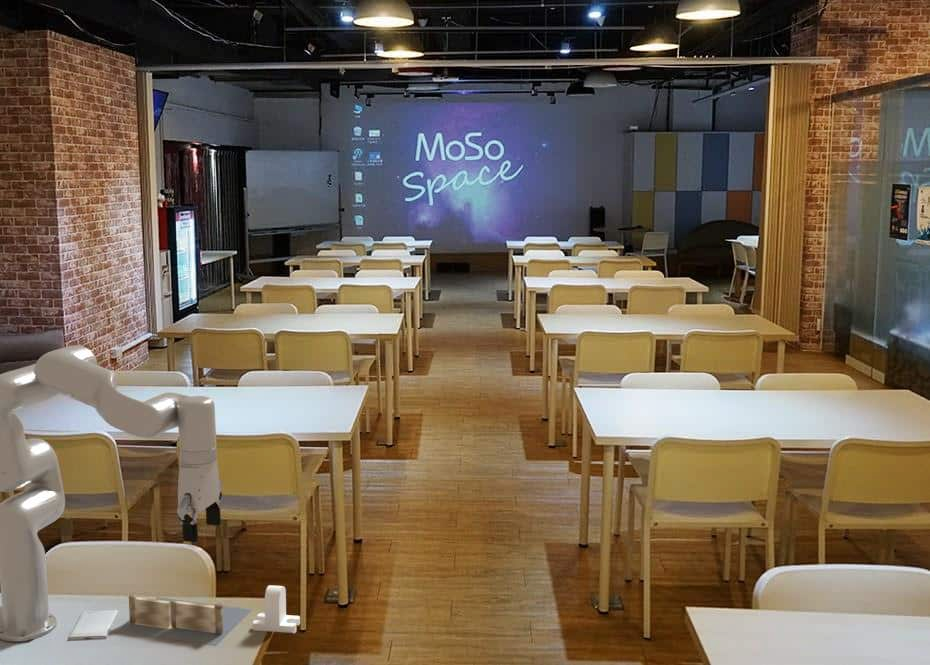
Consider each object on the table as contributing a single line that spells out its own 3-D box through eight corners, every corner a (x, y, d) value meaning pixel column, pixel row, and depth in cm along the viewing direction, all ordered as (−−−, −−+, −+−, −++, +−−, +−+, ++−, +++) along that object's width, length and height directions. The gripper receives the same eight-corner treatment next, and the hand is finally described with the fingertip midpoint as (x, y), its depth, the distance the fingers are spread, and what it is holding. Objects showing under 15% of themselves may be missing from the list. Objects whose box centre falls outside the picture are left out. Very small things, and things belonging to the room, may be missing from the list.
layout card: (115, 632, 219) (115, 630, 219) (157, 598, 236) (157, 597, 236) (216, 646, 213) (216, 645, 213) (252, 610, 230) (252, 609, 230)
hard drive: (82, 611, 226) (68, 636, 214) (118, 609, 227) (106, 634, 215) (82, 617, 227) (68, 643, 214) (119, 616, 228) (106, 641, 216)
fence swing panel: (169, 627, 220) (168, 600, 219) (173, 623, 222) (172, 597, 220) (221, 634, 217) (220, 607, 216) (224, 631, 219) (223, 603, 218)
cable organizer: (259, 620, 226) (258, 580, 224) (300, 623, 225) (300, 583, 223) (252, 631, 220) (251, 590, 219) (294, 634, 219) (294, 593, 218)
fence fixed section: (128, 623, 222) (127, 597, 221) (132, 619, 224) (131, 593, 223) (167, 628, 220) (166, 602, 219) (171, 625, 222) (170, 599, 221)
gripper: (202, 443, 212) (206, 517, 215) (160, 466, 195) (164, 546, 198) (234, 445, 210) (237, 520, 213) (193, 468, 194) (198, 549, 196)
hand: (202, 532), depth 206 cm, fingers open, 9 cm apart
